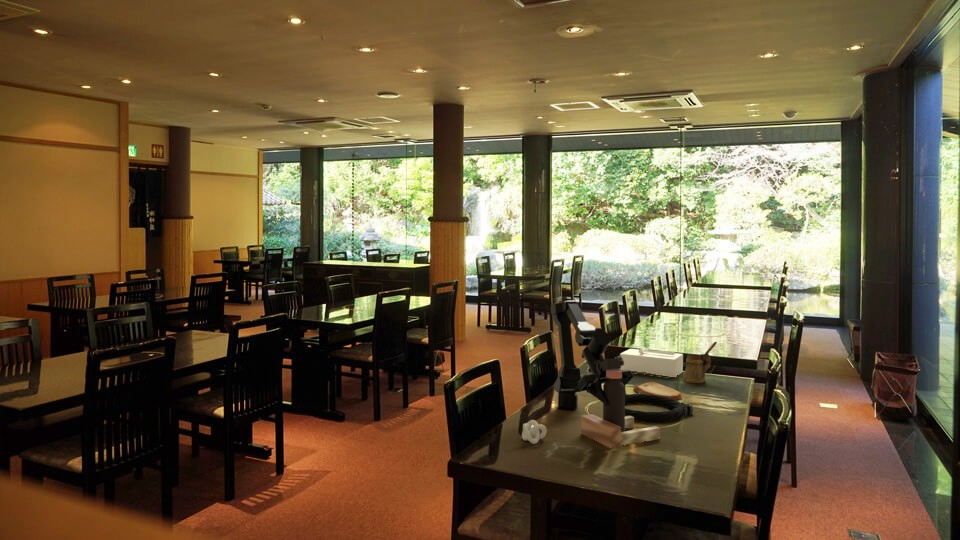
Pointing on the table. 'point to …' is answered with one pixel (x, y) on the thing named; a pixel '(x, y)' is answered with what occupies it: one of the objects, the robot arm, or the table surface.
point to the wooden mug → (697, 366)
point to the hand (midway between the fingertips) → (616, 403)
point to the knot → (530, 431)
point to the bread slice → (657, 390)
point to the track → (615, 431)
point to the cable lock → (675, 414)
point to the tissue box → (653, 362)
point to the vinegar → (614, 398)
